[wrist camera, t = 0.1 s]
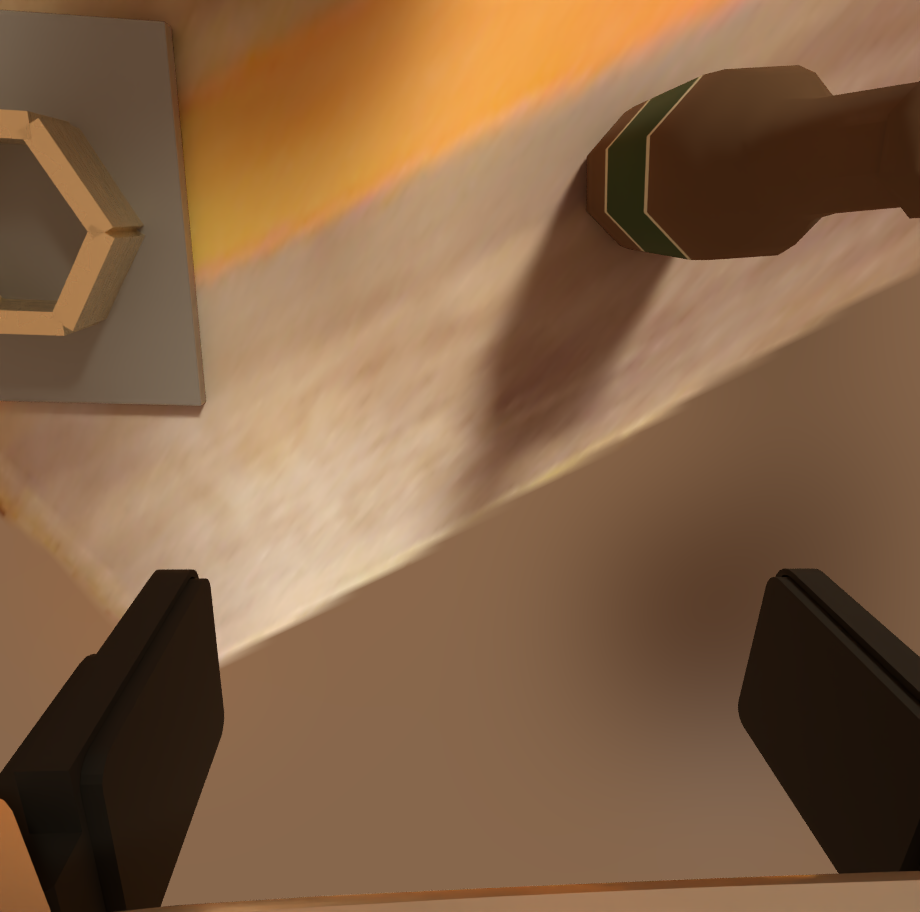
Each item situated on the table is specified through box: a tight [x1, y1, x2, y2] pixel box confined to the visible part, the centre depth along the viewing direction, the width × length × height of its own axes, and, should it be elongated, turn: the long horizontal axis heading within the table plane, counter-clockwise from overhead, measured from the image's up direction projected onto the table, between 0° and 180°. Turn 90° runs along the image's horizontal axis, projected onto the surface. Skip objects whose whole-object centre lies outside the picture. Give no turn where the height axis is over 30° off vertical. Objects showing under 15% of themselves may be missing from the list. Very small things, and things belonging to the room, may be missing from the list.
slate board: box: [0, 10, 206, 406], centre depth 36 cm, size 20×16×1 cm
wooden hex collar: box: [0, 109, 145, 336], centre depth 34 cm, size 10×12×4 cm
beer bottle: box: [586, 65, 920, 260], centre depth 27 cm, size 8×8×24 cm
